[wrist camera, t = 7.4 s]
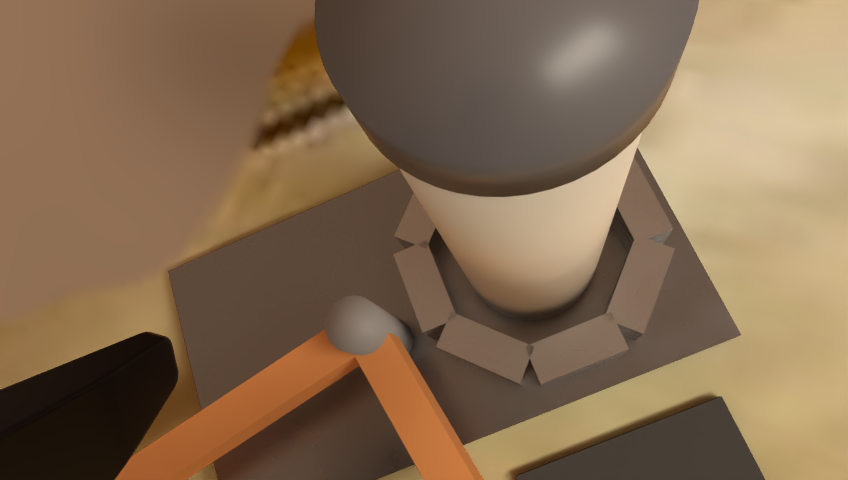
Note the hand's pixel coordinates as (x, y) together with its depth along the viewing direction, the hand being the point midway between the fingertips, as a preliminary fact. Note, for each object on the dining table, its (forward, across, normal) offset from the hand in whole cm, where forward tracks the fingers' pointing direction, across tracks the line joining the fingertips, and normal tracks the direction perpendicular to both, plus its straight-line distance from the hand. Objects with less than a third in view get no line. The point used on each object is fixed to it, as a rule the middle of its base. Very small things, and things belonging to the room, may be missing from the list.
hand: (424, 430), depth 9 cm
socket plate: (+11, +3, +6) cm, 13 cm away
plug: (+12, 0, +4) cm, 13 cm away
